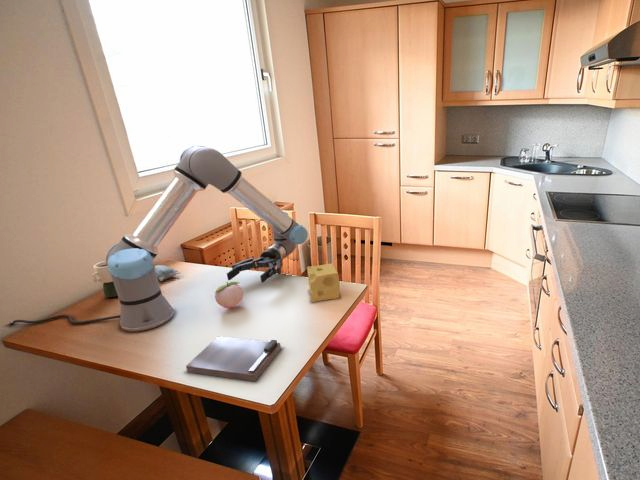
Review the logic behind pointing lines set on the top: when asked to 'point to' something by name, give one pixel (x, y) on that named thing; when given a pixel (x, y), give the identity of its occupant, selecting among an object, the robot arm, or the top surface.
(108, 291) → the character mug
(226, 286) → the decorative fruit
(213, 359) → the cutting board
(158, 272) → the packaged food
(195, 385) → the top surface
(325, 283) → the cheese
